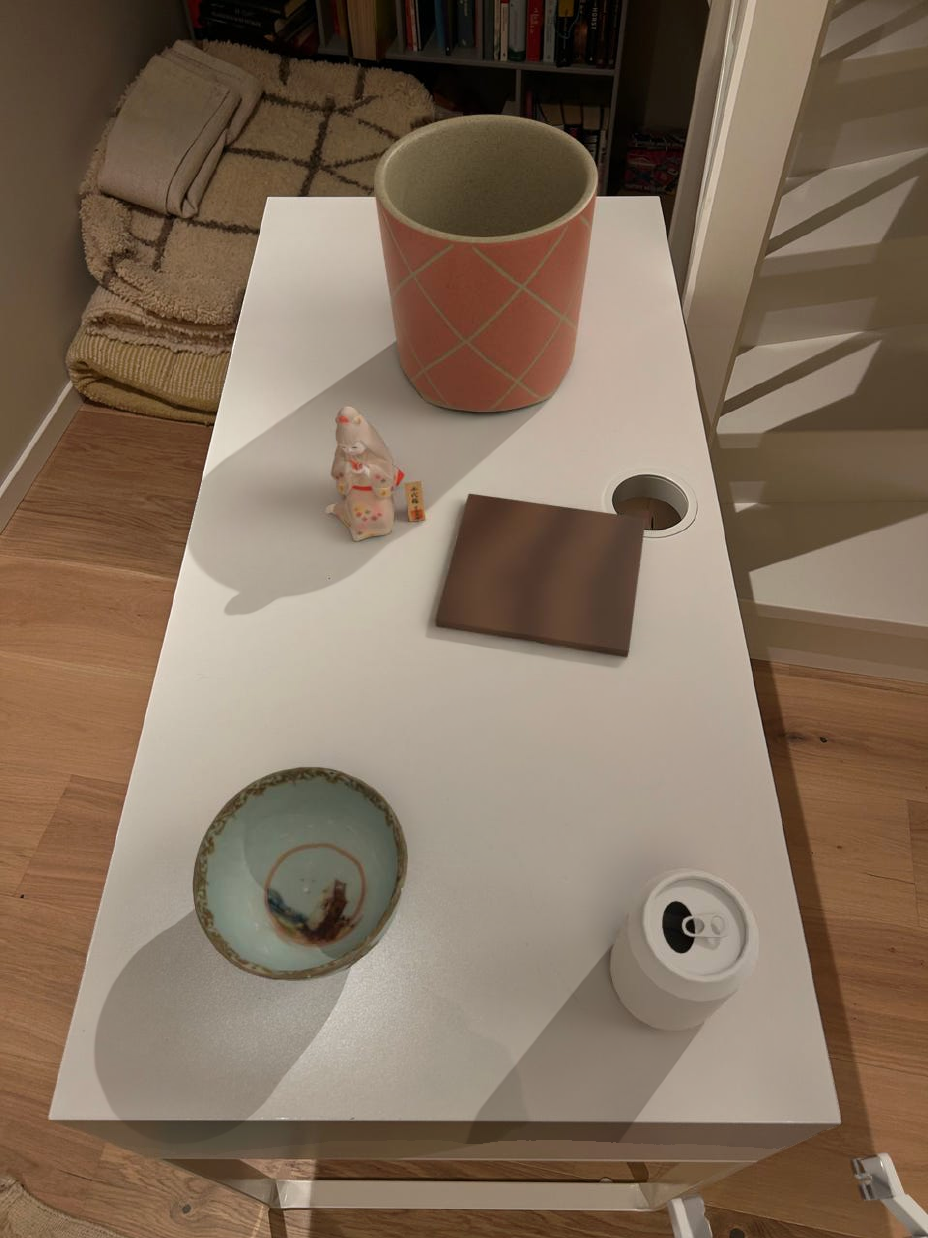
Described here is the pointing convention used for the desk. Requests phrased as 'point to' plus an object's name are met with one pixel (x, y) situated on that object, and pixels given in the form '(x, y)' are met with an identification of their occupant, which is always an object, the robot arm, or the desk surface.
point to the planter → (486, 257)
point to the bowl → (300, 874)
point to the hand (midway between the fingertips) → (776, 1176)
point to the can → (683, 949)
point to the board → (544, 574)
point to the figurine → (368, 479)
